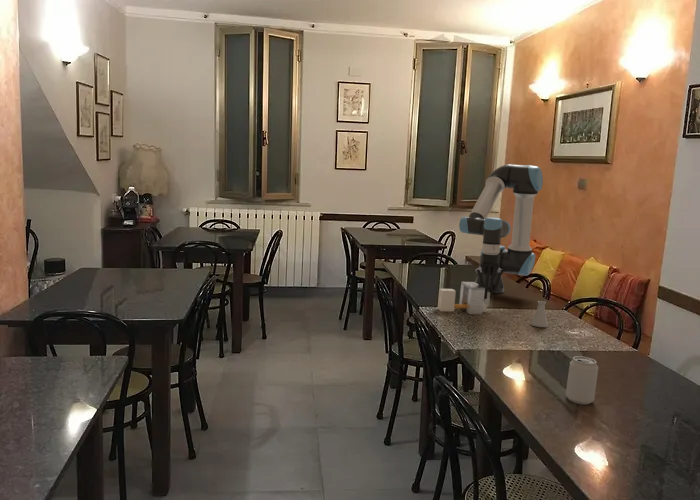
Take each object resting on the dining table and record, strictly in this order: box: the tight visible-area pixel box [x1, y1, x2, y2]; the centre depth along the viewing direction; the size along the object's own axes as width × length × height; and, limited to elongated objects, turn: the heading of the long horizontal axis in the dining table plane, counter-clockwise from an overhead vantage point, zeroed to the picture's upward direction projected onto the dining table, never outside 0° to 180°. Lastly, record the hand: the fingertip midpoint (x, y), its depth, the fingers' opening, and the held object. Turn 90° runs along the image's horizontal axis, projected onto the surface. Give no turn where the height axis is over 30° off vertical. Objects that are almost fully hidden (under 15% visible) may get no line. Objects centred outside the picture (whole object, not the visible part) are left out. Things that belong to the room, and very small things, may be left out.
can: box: [565, 355, 599, 405], centre depth 167 cm, size 8×8×12 cm
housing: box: [458, 281, 485, 315], centre depth 263 cm, size 6×12×12 cm, turn 11°
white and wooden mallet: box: [437, 288, 488, 313], centre depth 262 cm, size 21×4×9 cm, turn 101°
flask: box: [529, 300, 549, 328], centre depth 246 cm, size 7×7×10 cm
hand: (486, 306), depth 265 cm, fingers closed
